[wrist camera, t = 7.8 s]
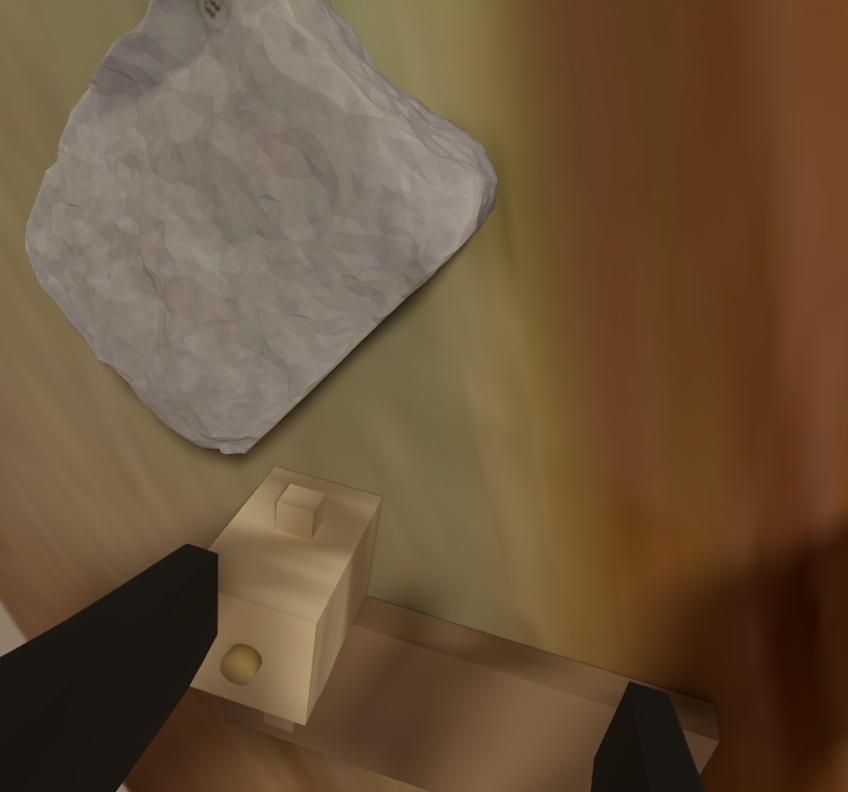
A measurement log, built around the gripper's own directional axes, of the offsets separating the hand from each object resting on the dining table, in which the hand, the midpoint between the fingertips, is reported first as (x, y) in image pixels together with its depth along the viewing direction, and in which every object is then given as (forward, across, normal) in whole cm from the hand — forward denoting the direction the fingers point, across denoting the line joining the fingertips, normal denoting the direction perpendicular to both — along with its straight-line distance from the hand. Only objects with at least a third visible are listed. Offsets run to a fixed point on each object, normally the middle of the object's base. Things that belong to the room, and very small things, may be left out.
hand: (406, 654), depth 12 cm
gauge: (+10, +5, +9) cm, 15 cm away
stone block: (+11, +8, -4) cm, 14 cm away
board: (+10, -1, +14) cm, 17 cm away
